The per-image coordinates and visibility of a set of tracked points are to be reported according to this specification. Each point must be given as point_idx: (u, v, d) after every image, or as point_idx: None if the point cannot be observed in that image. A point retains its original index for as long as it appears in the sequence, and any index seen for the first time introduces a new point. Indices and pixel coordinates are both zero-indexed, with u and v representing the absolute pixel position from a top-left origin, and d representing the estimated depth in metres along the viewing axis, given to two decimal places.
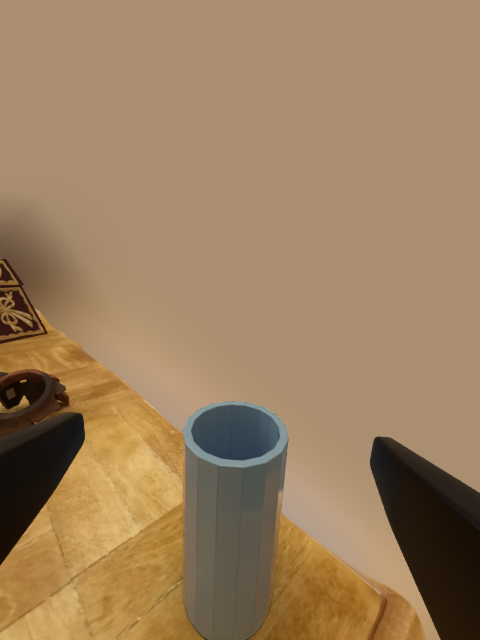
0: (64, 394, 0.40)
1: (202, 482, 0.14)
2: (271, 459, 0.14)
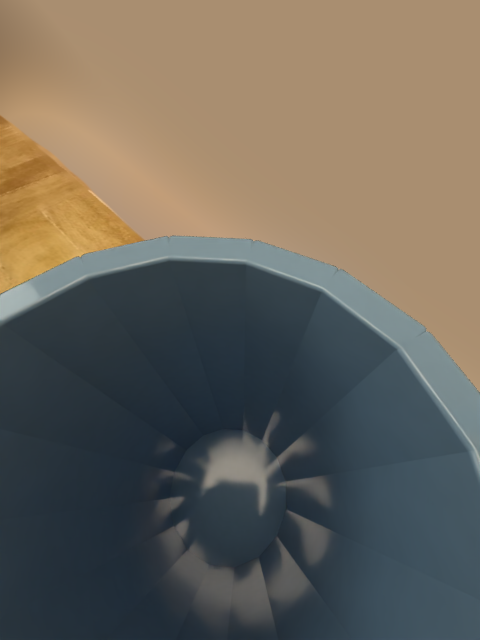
0: None
1: None
2: None
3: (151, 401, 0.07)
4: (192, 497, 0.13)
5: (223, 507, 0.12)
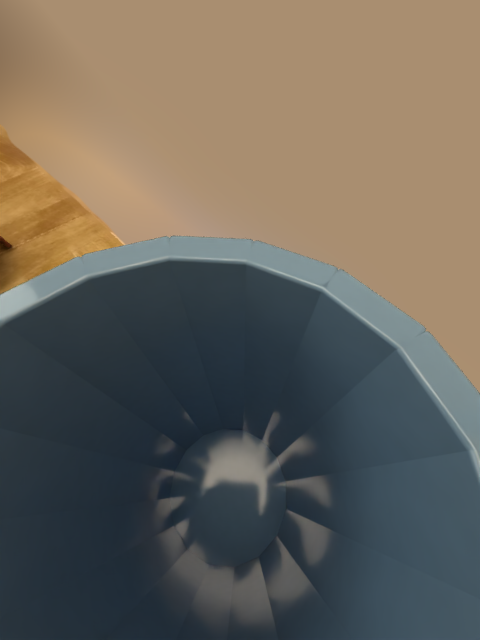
0: None
1: None
2: None
3: (151, 401, 0.07)
4: (192, 497, 0.13)
5: (223, 507, 0.12)
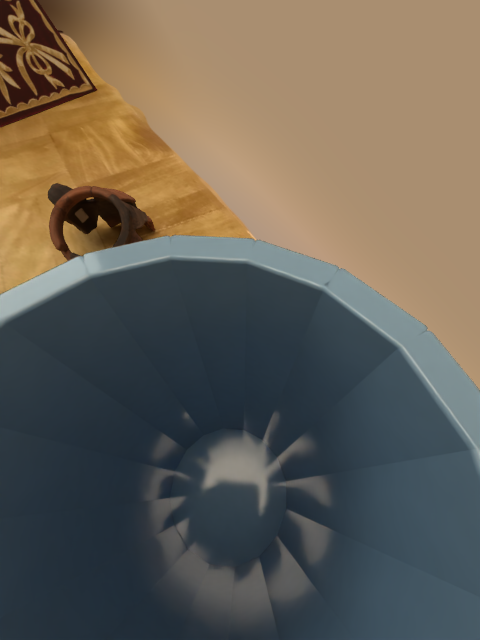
0: None
1: None
2: None
3: (152, 400, 0.07)
4: (192, 497, 0.13)
5: (223, 507, 0.12)
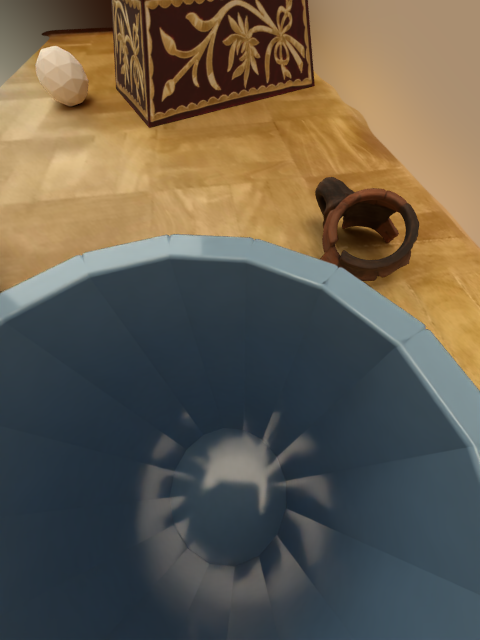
0: (395, 229, 0.28)
1: None
2: None
3: (152, 400, 0.07)
4: (192, 496, 0.13)
5: (223, 506, 0.12)
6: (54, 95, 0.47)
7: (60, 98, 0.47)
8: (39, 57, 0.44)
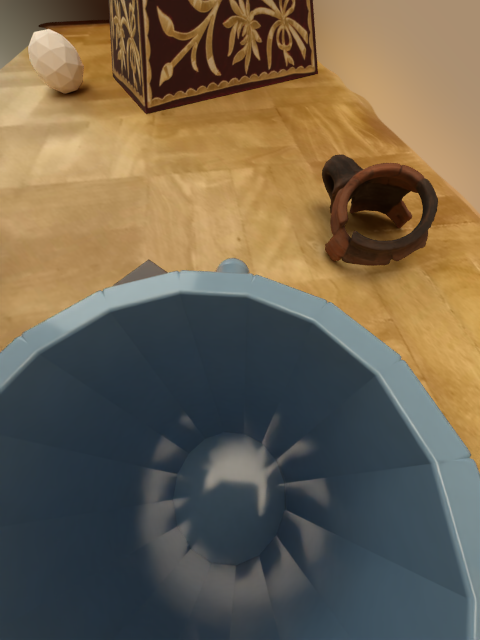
0: (408, 212, 0.26)
1: None
2: None
3: (158, 410, 0.08)
4: (195, 498, 0.13)
5: (225, 508, 0.13)
6: (48, 80, 0.45)
7: (54, 84, 0.45)
8: (32, 40, 0.42)
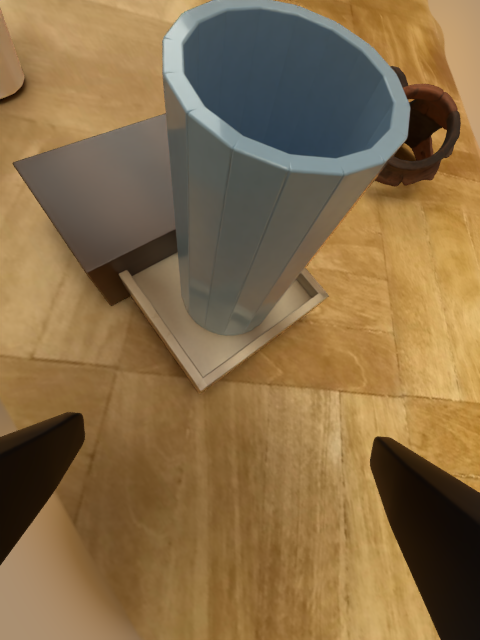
0: (431, 150, 0.29)
1: (196, 179, 0.07)
2: (356, 172, 0.06)
3: None
4: None
5: None
6: None
7: None
8: None
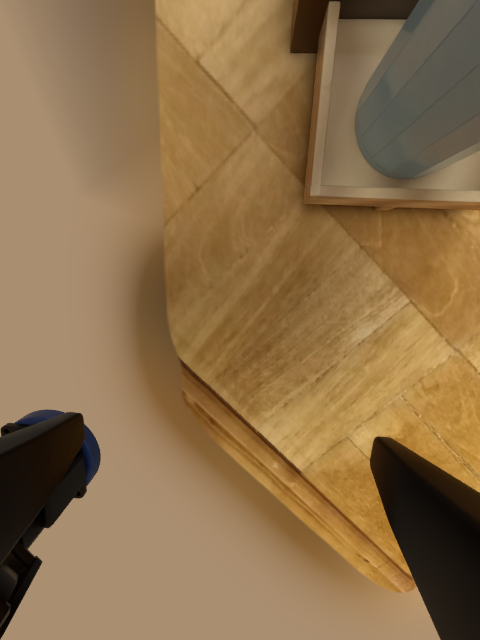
0: None
1: None
2: None
3: None
4: None
5: None
6: None
7: None
8: None
